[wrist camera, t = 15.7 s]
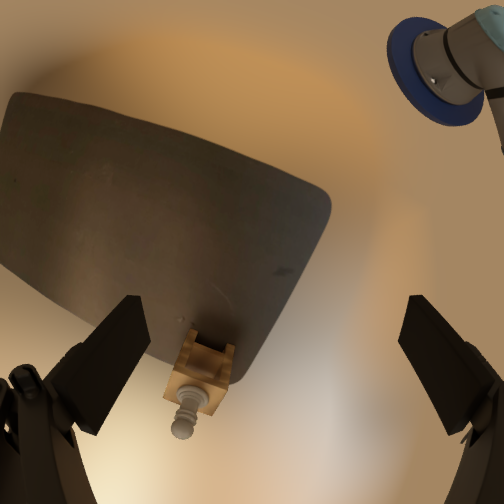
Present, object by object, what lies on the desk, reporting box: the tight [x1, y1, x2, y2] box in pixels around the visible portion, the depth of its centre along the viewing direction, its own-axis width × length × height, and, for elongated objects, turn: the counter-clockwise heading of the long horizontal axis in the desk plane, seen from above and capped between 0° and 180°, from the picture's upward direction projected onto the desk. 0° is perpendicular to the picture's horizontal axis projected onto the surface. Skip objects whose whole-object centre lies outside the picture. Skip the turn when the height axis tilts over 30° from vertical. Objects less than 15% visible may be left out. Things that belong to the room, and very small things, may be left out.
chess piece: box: [171, 385, 209, 440], centre depth 35 cm, size 5×5×9 cm
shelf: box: [163, 328, 235, 416], centre depth 45 cm, size 9×8×12 cm
